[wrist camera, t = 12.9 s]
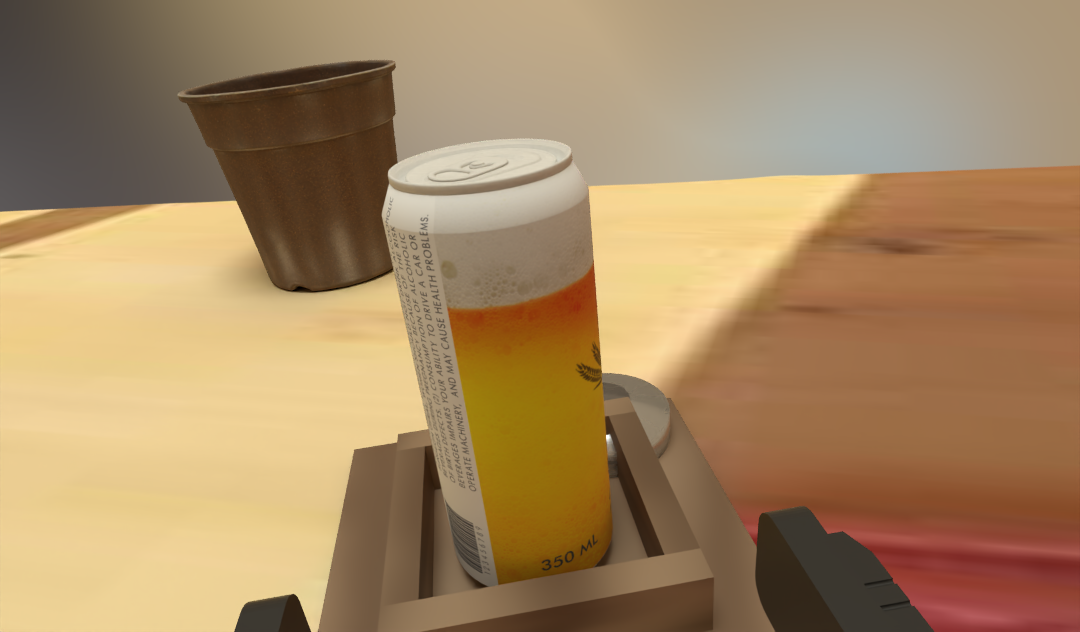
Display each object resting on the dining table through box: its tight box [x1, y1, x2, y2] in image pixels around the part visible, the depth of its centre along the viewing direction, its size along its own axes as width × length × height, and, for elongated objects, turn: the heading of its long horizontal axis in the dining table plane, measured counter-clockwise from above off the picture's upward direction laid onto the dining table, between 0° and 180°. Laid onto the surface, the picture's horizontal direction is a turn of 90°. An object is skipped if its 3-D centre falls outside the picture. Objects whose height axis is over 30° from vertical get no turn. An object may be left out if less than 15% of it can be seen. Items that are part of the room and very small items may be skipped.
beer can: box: [382, 139, 613, 587], centre depth 22 cm, size 6×6×15 cm
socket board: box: [318, 397, 775, 632], centre depth 25 cm, size 16×16×3 cm
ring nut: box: [602, 373, 670, 478], centre depth 31 cm, size 6×6×3 cm
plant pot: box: [178, 60, 398, 291], centre depth 54 cm, size 16×16×16 cm
